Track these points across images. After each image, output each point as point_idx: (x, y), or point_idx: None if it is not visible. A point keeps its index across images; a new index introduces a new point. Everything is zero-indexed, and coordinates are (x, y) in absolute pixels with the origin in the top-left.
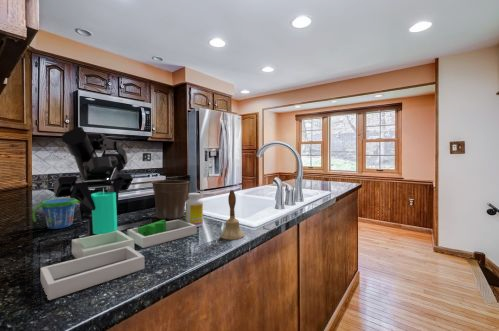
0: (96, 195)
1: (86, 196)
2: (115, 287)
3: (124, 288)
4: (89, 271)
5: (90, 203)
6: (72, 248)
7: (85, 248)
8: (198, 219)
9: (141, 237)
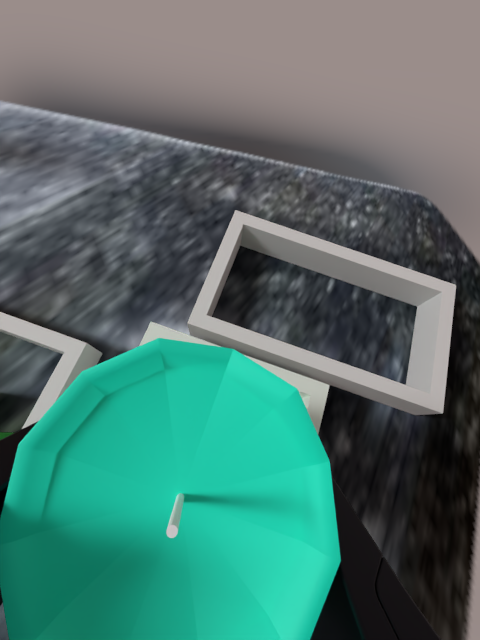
0: (234, 592)
1: (391, 573)
2: (327, 226)
3: (320, 207)
4: (371, 262)
5: (334, 481)
6: None
7: (308, 410)
8: None
9: (79, 358)
